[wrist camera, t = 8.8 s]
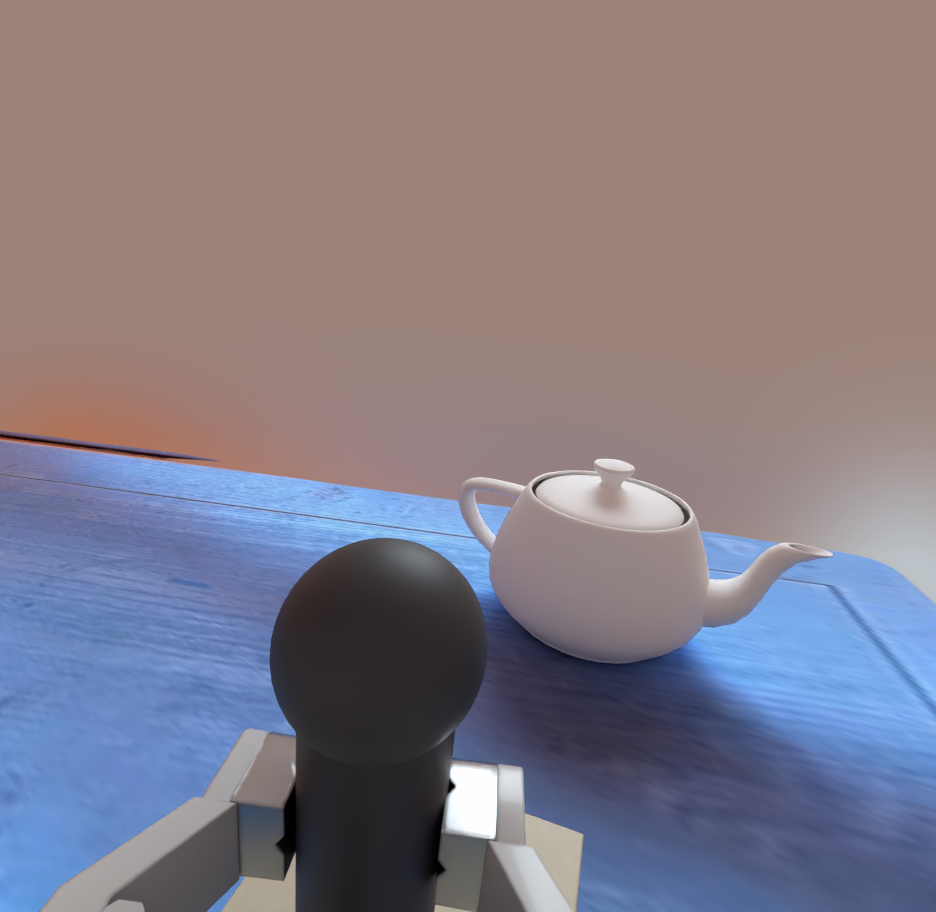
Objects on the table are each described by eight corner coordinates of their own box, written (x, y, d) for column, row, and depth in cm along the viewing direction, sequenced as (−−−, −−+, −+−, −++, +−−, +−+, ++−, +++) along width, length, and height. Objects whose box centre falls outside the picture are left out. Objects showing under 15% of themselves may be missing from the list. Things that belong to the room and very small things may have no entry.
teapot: (399, 610, 33) (409, 449, 30) (493, 536, 45) (507, 414, 41) (797, 780, 23) (873, 568, 20) (783, 628, 35) (830, 479, 32)
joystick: (449, 2182, 5) (943, 2204, 1) (-168, 1499, 7) (-645, 802, 3) (581, 847, 17) (660, 483, 13) (336, 756, 19) (346, 426, 15)
